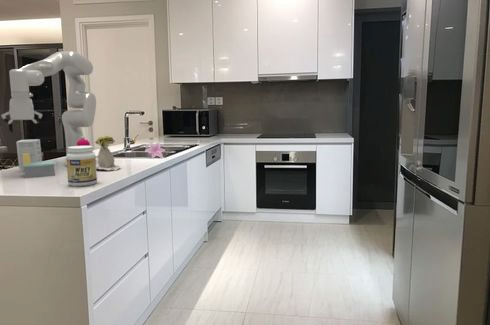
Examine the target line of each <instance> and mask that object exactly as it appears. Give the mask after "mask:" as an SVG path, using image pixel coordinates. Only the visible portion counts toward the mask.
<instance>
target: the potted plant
mask: <svg viewBox="0 0 490 325" xmlns="http://www.w3.org/2000/svg"><path fill="white" fill-rule="evenodd" d="M115 142H116V140H114V138H113V137H112V136H109V135H102V136H99V137H98V138H97V139H96V140H95V141H94V143H95V144H96V145H99V146H100V148H99V151H98V154H97V162H98V163H97V164H98V166H96V170H101V171H102V170H103V171H104V170H105V171H115V172H116V171H117V170H119V169H121V165H115V162H116V161H115V158H114V155H113V153H112V152H111V150H110V148H109V147H108V146H109V145H113V144H114V143H115Z"/></svg>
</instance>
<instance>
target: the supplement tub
mask: <svg viewBox="0 0 490 325" xmlns="http://www.w3.org/2000/svg"><path fill="white" fill-rule="evenodd" d="M68 152H69V153H68V154H67V153H66V157H65V159H66V163H67V166H66V172H67V183H68V186H72V187H86V186H88V185H89V186H92V185H94V184H96V183H97V182H98V177H97V176H98V175H97V169H96V167H97V159H96V154H95V152H94V147H93V145H90V146H72V147H68ZM89 186H88V187H89Z"/></svg>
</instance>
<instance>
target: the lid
mask: <svg viewBox="0 0 490 325" xmlns="http://www.w3.org/2000/svg"><path fill="white" fill-rule="evenodd" d="M48 165H54V166H55V161H54V160H48V161H47V160H45V161H42V162H30V153H24V154H23V167H35V166H48Z"/></svg>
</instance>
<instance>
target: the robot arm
mask: <svg viewBox="0 0 490 325" xmlns="http://www.w3.org/2000/svg"><path fill="white" fill-rule="evenodd" d="M62 70H63V72H64V74H65V75H66V77H67V79H68V82H69V88H68V93H67V94H68V95H67V106H68V108H71V109H70V110H69V109H68V110H65V111H64V112H63V113H62V115H61V122H62V125H63V130H64V138H65V139H64V140H65V148H66V150H65V151H66V155H67V154H68V153H69V152H68V147H72V146H77V142H78V141H79V140H81V137H82V136H84V133H83V131H82V129H81V128H90V127H92V125H93V124H94V121H95V115H96V111H97V110H96V109H97V98H96V96H95V94H94V93H93V92H90V91H86V82H85V81H84V79H83V78H82V77H81V76H90V75H91V74H92V73H93V71H94V66H93V63H92V62H91V60H90V59H88V58H86V57H84V56H83V55H82V54H80V53H78V52H76V51H73V50H65V51H63V50H62V51H57V52H55V53H53V54H51V55H49V56H48V57H46V58H44V59H42V60H38V61H35V62H32V63H30V64H29V63H28V64H26V65H24V66H22V67H20V68H19V69H18V68H12V69H10V70H9V71H8V72H9V83H10V94H11V95H10V96H11V98H10V99H9V110H8V111H6V112H5V113H3V114H1V118H2V119H3V121H5V122H6V124H8V130H9V131H10V133H14V125H13V122H14V121H24V120H25V121H28V120H29V121H30V120H31V121H32V122H33V132H34V133H35V132H36V131H37V130H38V122H40V121H41V119H42V117H43V113H41V112H39V111H36V110H34V102H33V100H32V98H31V97H34V94H33V93H31V92H30V87H31V86H32V87H33V86H34V87H36V86H41V85H42V84H43V83H44V82H45V77H51V76H54V75H55V74H57V73H58V72H60V71H62ZM35 115H37V116H38V117H37V118H36V119H35ZM6 116H9V118H10V119H7V117H6ZM64 166H65V167H67V162H65V163H64Z"/></svg>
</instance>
